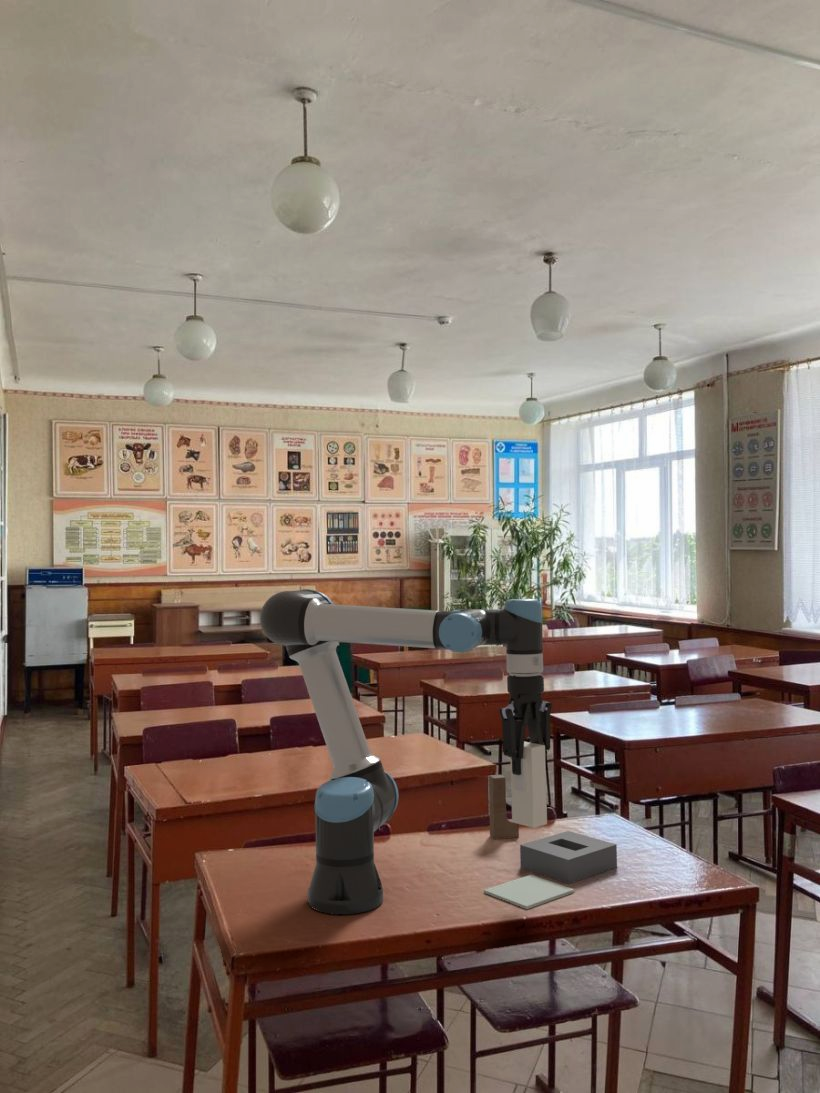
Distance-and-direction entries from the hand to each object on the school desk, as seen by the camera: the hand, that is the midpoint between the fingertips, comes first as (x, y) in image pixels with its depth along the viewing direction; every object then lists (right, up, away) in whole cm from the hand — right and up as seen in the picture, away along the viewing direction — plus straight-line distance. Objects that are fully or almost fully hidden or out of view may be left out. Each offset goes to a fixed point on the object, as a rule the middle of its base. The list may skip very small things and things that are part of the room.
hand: (528, 788), depth 184 cm
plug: (0, -7, 0) cm, 7 cm away
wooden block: (-1, -23, +39) cm, 45 cm away
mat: (0, -21, -1) cm, 21 cm away
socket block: (+11, -22, +15) cm, 28 cm away
